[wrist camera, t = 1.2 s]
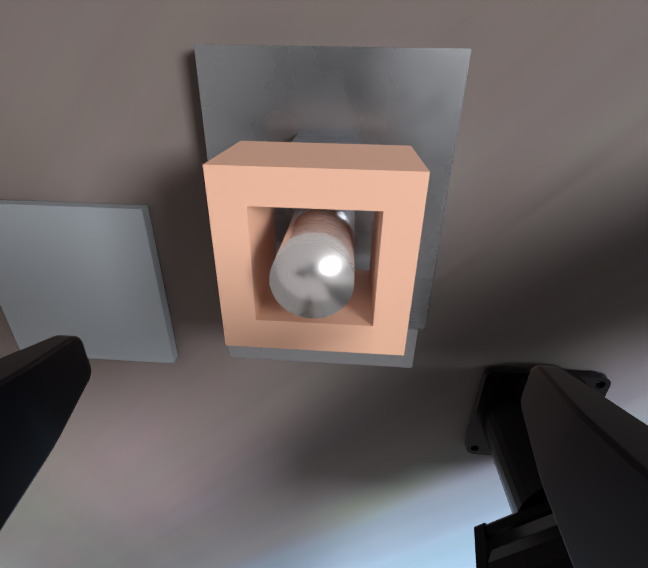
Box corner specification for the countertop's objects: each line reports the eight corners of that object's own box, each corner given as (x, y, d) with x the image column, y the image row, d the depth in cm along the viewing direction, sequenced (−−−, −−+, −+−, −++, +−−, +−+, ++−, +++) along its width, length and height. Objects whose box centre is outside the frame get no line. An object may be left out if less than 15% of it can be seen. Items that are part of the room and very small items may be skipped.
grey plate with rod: (421, 318, 21) (454, 441, 14) (232, 308, 21) (173, 422, 14) (464, 50, 15) (557, 34, 8) (202, 46, 15) (81, 27, 9)
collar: (393, 294, 17) (404, 355, 13) (252, 288, 17) (225, 345, 13) (411, 145, 14) (429, 171, 10) (240, 140, 14) (202, 164, 11)
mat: (178, 356, 23) (173, 363, 22) (29, 347, 23) (21, 354, 23) (147, 205, 19) (141, 209, 18) (-34, 198, 19) (-45, 202, 19)
